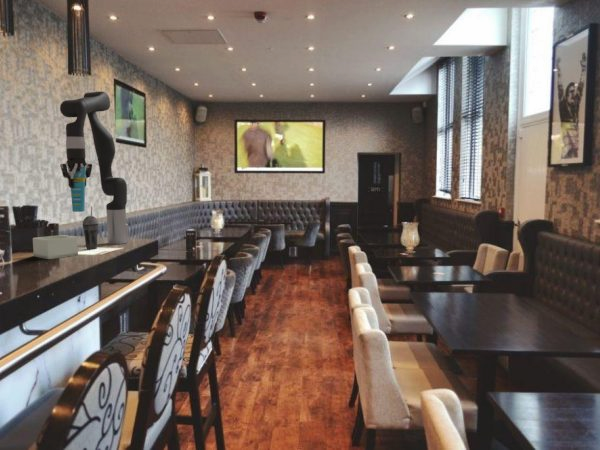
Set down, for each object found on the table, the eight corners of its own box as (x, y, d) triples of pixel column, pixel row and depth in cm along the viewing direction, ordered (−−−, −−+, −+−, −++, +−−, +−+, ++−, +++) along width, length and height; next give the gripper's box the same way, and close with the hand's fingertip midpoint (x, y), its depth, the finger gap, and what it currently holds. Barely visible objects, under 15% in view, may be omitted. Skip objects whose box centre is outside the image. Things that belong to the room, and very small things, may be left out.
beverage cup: (79, 249, 254) (77, 206, 252) (92, 247, 260) (90, 205, 258) (90, 250, 250) (88, 207, 248) (103, 248, 257) (101, 206, 255)
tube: (68, 212, 231) (66, 167, 229) (71, 211, 236) (69, 167, 234) (86, 211, 232) (84, 166, 230) (89, 211, 237) (87, 167, 235)
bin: (62, 252, 244) (61, 235, 243) (78, 255, 236) (77, 237, 235) (33, 256, 233) (32, 237, 233) (48, 259, 225) (47, 240, 225)
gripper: (86, 148, 239) (87, 187, 241) (55, 147, 228) (57, 188, 230) (95, 148, 235) (97, 187, 236) (64, 147, 223) (66, 188, 225)
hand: (77, 187), depth 233 cm, fingers closed on tube, 4 cm apart
